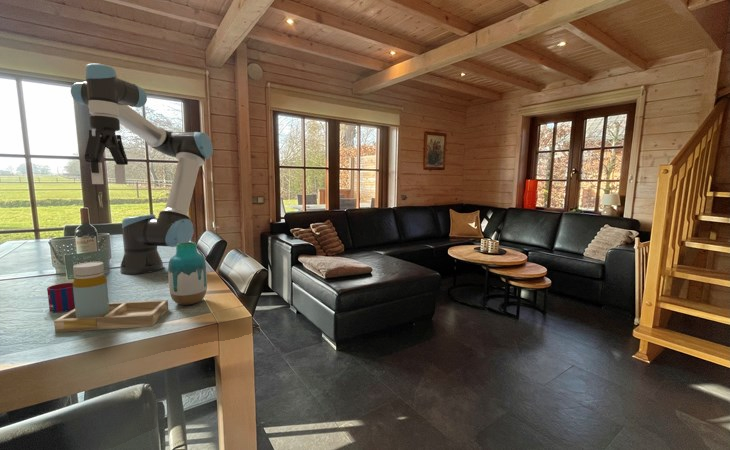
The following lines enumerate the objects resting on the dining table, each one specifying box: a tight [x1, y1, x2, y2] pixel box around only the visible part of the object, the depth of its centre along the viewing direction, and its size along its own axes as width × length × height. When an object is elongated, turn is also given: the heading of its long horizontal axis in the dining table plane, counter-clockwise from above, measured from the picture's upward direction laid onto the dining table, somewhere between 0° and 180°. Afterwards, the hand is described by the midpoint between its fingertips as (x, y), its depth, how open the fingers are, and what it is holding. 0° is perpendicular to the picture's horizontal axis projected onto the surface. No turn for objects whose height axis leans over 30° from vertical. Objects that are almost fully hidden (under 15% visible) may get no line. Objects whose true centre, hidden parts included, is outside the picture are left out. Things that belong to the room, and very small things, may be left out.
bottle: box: [72, 261, 110, 318], centre depth 89 cm, size 7×7×15 cm
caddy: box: [53, 299, 169, 333], centre depth 91 cm, size 12×22×3 cm, turn 102°
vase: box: [167, 241, 208, 306], centre depth 103 cm, size 11×11×19 cm
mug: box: [46, 282, 75, 313], centre depth 100 cm, size 7×10×7 cm
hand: (110, 184), depth 108 cm, fingers open, 13 cm apart
